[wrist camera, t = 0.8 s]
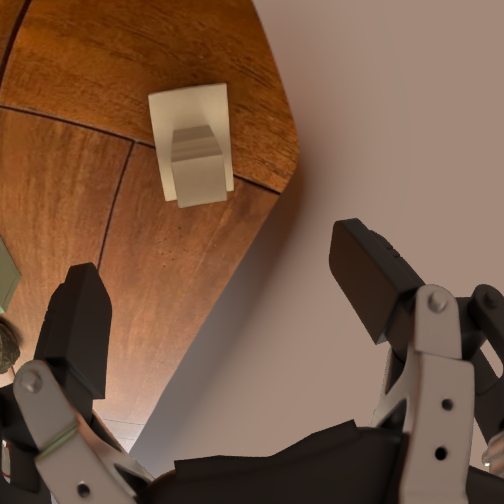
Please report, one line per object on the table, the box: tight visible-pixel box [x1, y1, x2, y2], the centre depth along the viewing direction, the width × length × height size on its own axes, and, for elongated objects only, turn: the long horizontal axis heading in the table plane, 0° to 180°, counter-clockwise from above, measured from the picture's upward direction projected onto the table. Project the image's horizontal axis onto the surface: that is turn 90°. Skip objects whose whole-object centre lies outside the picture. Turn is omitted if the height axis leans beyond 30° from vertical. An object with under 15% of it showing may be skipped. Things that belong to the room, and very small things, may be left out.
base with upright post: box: [148, 83, 234, 208], centre depth 18 cm, size 8×5×10 cm, turn 2°
